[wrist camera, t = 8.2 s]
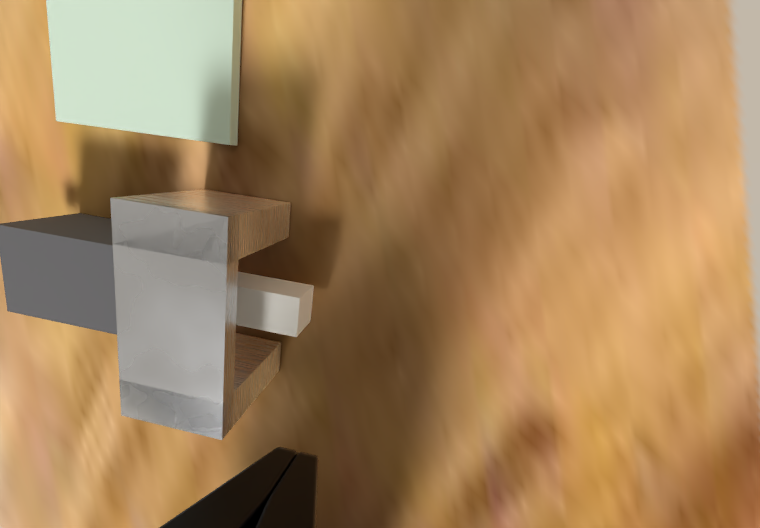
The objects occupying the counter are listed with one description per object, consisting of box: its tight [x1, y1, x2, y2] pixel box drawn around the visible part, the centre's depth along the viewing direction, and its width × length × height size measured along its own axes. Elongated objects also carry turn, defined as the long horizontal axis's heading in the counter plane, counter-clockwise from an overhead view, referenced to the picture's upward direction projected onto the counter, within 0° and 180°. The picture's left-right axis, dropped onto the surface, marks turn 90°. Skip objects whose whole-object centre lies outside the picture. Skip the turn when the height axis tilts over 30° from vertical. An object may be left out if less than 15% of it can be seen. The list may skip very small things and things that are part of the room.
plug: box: [0, 213, 314, 337], centre depth 16 cm, size 13×4×4 cm, turn 83°
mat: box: [46, 0, 242, 146], centre depth 15 cm, size 8×8×1 cm
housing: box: [110, 189, 291, 440], centre depth 15 cm, size 4×8×5 cm, turn 173°
